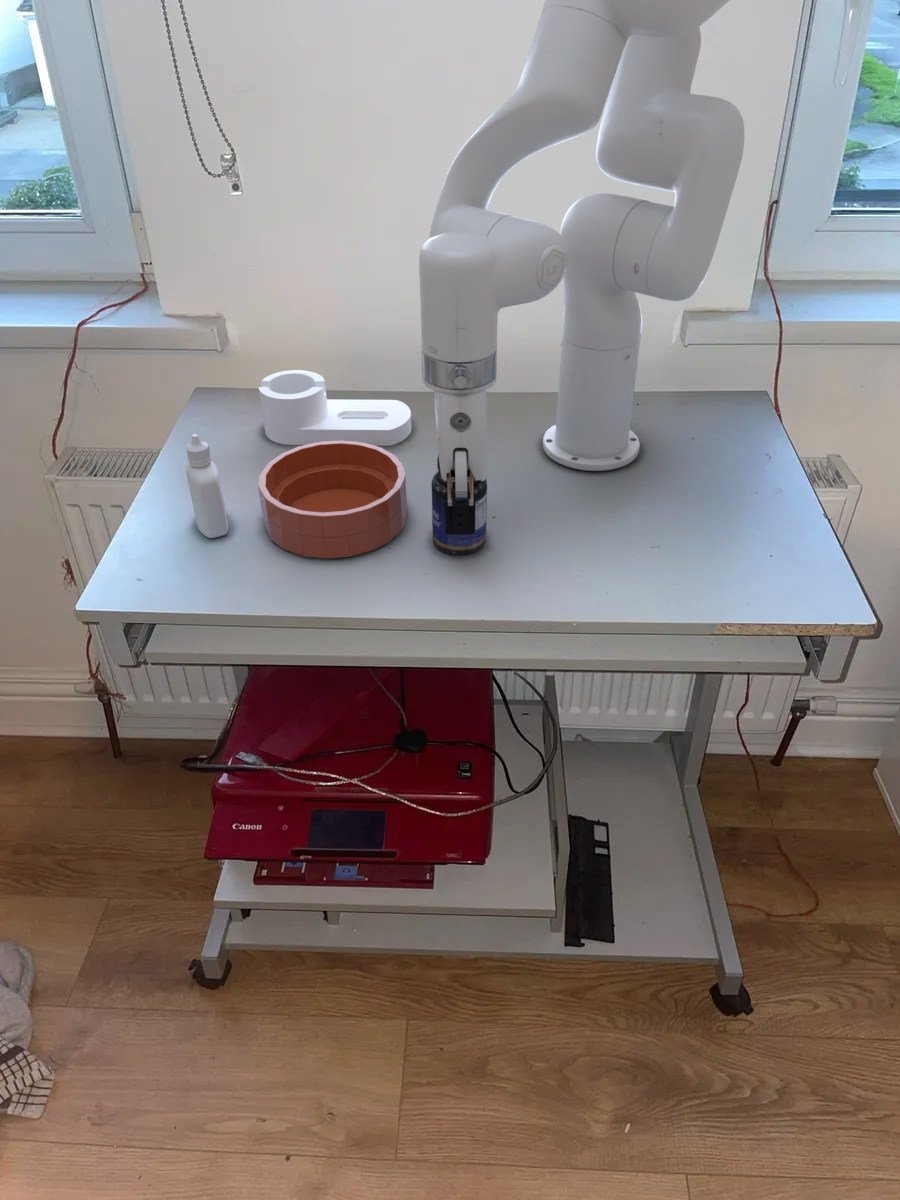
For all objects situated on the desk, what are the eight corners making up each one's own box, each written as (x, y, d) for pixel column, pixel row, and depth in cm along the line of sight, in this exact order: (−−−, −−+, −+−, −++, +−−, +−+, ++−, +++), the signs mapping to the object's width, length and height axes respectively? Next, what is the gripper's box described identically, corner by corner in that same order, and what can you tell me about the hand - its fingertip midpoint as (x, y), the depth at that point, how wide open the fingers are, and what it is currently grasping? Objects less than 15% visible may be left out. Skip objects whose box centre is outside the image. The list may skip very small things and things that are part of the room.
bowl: (319, 471, 121) (314, 428, 117) (432, 504, 114) (431, 460, 111) (236, 536, 109) (228, 491, 106) (356, 576, 103) (352, 531, 99)
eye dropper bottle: (237, 513, 113) (221, 423, 106) (225, 540, 109) (208, 448, 101) (201, 512, 113) (182, 422, 106) (188, 539, 109) (167, 447, 101)
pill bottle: (431, 528, 110) (429, 444, 103) (483, 525, 111) (484, 441, 104) (434, 558, 105) (432, 472, 99) (488, 555, 106) (490, 470, 99)
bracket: (259, 444, 126) (252, 398, 122) (271, 414, 133) (265, 369, 129) (409, 445, 126) (407, 399, 121) (413, 415, 132) (411, 370, 128)
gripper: (502, 403, 88) (497, 560, 99) (491, 330, 102) (488, 475, 113) (421, 405, 88) (425, 561, 99) (422, 331, 101) (426, 476, 113)
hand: (459, 514), depth 106 cm, fingers closed on pill bottle, 6 cm apart
